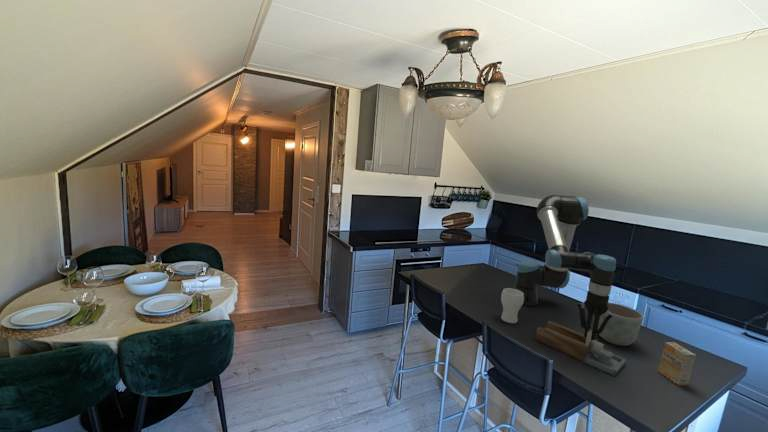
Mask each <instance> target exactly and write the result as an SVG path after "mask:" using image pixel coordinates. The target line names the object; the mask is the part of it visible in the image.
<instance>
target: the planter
mask: <svg viewBox="0 0 768 432" xmlns="http://www.w3.org/2000/svg"><path fill="white" fill-rule="evenodd" d="M608 311H609V312H610V313H613V314H614V316H613V317H612V318H610V319H609V321H608V323H607V325H606V326H605V328H604V330H603V332H602V333H600V334H598V335H599V336H600V337H601V338H602V339H603V340H604V341H606V342H608V343H610V344H612V345H616V346H619V347H620V346H621V347H626V346H627V347H628V346H630V345H632V344H633V343H634V342H635V341H636V340H637V338H638V336H639V333H640V329H641V326H642V323H643V320H644V315H643V314H642V313H641V312H640V311H638V310H637V309H634V308H631V307H629V306H626V305H623V304H620V303H614V302H608ZM605 315H606V312H605V313H604V314H602V315H601V316H600V320H599V325H598V329H599V328H600V326H601V324H602V322H603V321H604V319H605V318H606V316H605Z"/></svg>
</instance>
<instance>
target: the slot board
mask: <svg viewBox="0 0 768 432" xmlns="http://www.w3.org/2000/svg"><path fill="white" fill-rule="evenodd" d="M535 334H536V335H535V340H536V341H538V342H541V343H542V344H543V345H544V344H545V345H547V346H549V347H551V348H553V349H555V350H557V351H559V352H562V353H564V354H567V355H568V356H570V357H573V358H575V359H576V360H577V359H578V361H579V360H580V361H581V362H583V363H585V362H584V358H585V356H587V355H588V354H589V353H590V352H589V351H588V347H587V346H585V343H586V337H584V334H585V333H584V334H583V333H581V332H579V331H576V330H573V329H571V328H569V327H566V326H564V325H561V324H559V323H557V322H554V321H551V320H548V321H547V324H546V327H542V326H539V327H537V329H536V333H535ZM595 340H596V341H598V339H596V338H595Z"/></svg>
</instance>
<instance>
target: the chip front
mask: <svg viewBox="0 0 768 432" xmlns="http://www.w3.org/2000/svg"><path fill="white" fill-rule="evenodd" d="M614 355H615V354H614V352H611V351H610V350H607V349H605V348H603V349H602V350H601V351H600V352H599V356H598V359H597V360H598V361H600V362H602V363H604V364H606V365H608V366H609V364H610V363H611V362H612V359H613V356H614Z"/></svg>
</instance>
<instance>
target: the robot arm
mask: <svg viewBox="0 0 768 432" xmlns="http://www.w3.org/2000/svg"><path fill="white" fill-rule="evenodd" d="M589 208H590V207H589V204H588V200H587V199H586V198H585V197H580V196H577V195H576V196H575V195H559V194H551V195H547V196H545V197H544V198H542V199H541V201H539V203H538V205H537V208H536V216H537V218H538V220H540V222H541V226H542V229H543V233H544V236H545V240H546V244H547V247H548V249H547V250H546V252H545V257H544V258H545V259H544V261H545V262H544V265H541V263H540V262H538V261H534V260H523V261H520V262H519V263H518V264H517V265H518V266H517V268H516V275H515V284H514V286H513V288H512V289H517V290H519V291H521V292H523V294H524V302H523V305H522V306H527V307H528V306H529V307H533V306H534V307H535V306H537V305H538V303H539V298H538V294H537V293H538V292H537V289H538V286H539V287H545V288H547V287H548V288H553V289H564V288H566V286H568V284H569V282H570V276H571V273H570V270H575V271H585V272H588V273H590V278H589V283H588V287H587V288H588V290H587V293H586V298H585V300H584V302H579V303H578V304H577V307H578V310H579V320H580V327H581V328H583V329H584V337H586V343H585V346H587V347H589V344H590V342H591V341H592V340H593V341H594V340H595V339H596V338H597V334H598V335H599V334H600V333H602V332H603V330H604V328H605V326H606V325H607V323H608V321H609V319H610V318H612V317H613V316H614V314H613V313H610V312H609V311H608V303H609V299H610V295H611V291H612V290H611V289H612V286H613V285H612V284H613V280H614V276H615V273H616V272H615V270H616V266H617V259H616V258H615V257H614V256H610V255H607V254H595V253H593V252H590V251H585V252H576V251H570V250H571V246H572V243H573V239H574V234H575V232H576V228H577V227H578V226H579V225H581V223H582V221H585V220H586V219H587V218H588V216H589V213H590V212H589ZM585 308H586V309H585ZM586 310H587V317H586ZM605 312H606V315H605V316H606V318H605V319H604V321H603V322H602V324H601V326H600V328H599V329H598V325H599V320H600V316H601V315H602V314H604V313H605ZM593 316H594V320H593ZM592 322H593V323H592ZM592 324H593V325H592Z"/></svg>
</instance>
